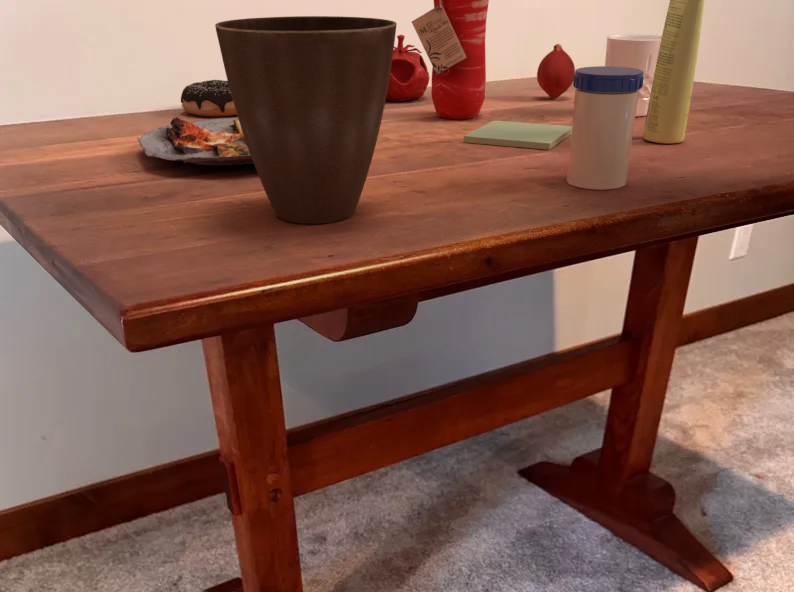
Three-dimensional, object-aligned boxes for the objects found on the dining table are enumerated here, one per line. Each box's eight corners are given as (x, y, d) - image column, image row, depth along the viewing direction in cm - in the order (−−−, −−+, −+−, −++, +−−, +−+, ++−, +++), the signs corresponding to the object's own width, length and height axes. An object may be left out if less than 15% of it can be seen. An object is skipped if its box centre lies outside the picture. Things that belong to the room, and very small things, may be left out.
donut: (171, 117, 116) (167, 88, 114) (202, 103, 126) (199, 76, 124) (244, 119, 114) (241, 89, 112) (269, 105, 125) (267, 77, 123)
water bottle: (444, 127, 107) (449, -91, 95) (401, 120, 112) (401, -89, 100) (499, 115, 115) (511, -89, 102) (457, 108, 120) (463, -87, 107)
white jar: (631, 178, 83) (646, 73, 78) (619, 192, 79) (633, 82, 74) (574, 172, 86) (585, 70, 81) (559, 186, 81) (569, 78, 76)
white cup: (666, 114, 114) (678, 37, 109) (625, 120, 111) (636, 41, 106) (627, 106, 120) (636, 33, 115) (587, 111, 117) (595, 36, 112)
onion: (539, 95, 130) (543, 41, 126) (575, 96, 128) (580, 42, 124) (531, 100, 125) (535, 45, 121) (568, 102, 123) (574, 46, 119)
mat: (573, 132, 104) (573, 126, 103) (549, 150, 95) (550, 143, 95) (493, 126, 108) (493, 120, 108) (463, 142, 99) (463, 135, 99)
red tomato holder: (354, 98, 129) (352, 35, 124) (400, 91, 134) (400, 30, 130) (396, 106, 122) (396, 39, 117) (442, 98, 128) (443, 34, 123)
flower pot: (354, 184, 83) (348, 12, 75) (427, 221, 71) (430, 23, 63) (214, 204, 77) (192, 20, 69) (270, 248, 65) (251, 34, 57)
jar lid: (647, 84, 79) (649, 68, 78) (634, 94, 74) (636, 76, 73) (582, 80, 81) (583, 64, 81) (565, 90, 76) (567, 73, 76)
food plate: (132, 140, 103) (127, 112, 101) (306, 126, 110) (305, 99, 108) (156, 187, 82) (150, 152, 81) (368, 165, 89) (367, 133, 88)
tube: (696, 140, 99) (728, -40, 89) (676, 147, 96) (707, -39, 86) (654, 134, 102) (680, -41, 92) (634, 140, 99) (659, -40, 89)
